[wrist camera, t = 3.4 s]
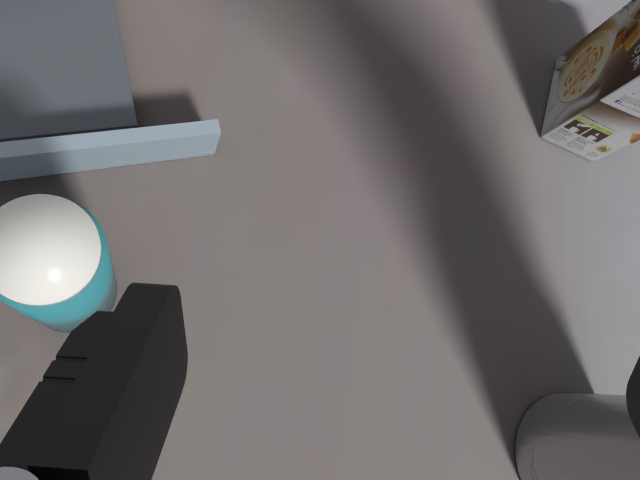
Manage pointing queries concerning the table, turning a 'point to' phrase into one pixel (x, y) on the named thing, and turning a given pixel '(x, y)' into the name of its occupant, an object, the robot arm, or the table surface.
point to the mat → (62, 69)
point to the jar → (54, 261)
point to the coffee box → (598, 89)
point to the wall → (106, 149)
